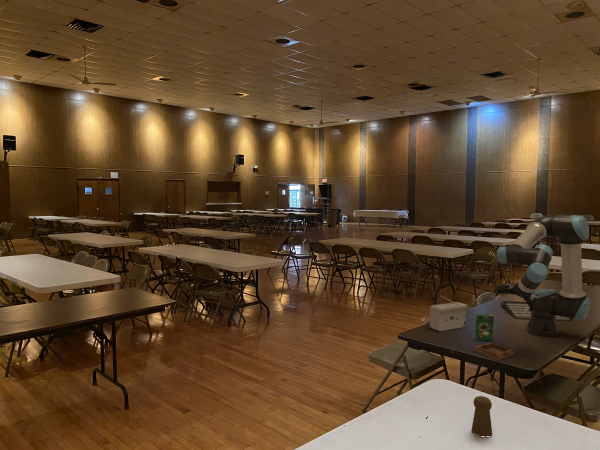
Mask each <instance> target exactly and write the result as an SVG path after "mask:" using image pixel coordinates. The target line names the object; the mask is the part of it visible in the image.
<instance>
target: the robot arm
mask: <svg viewBox="0 0 600 450" xmlns="http://www.w3.org/2000/svg"><path fill="white" fill-rule="evenodd" d="M589 237H590V225H589V222H588V219H587V217H585V216H583V215H576V214H547V215H543V216H540V217H537V218H535V219H534V220H532V221H531V222H529V224H527V226H526V227H525V230H524V231H523V232H522V233H521V234H520V235H519V236H517V238H516V239H515V240H514V241H512V242H511V243H510V244H509V246H500V247H498V248H497V250H496V259H497V261H498V262H499V263H503V264H506V265H507V264H509V265H510V264H512V265H518V266H519V265H520V266H521V265H522V266H527V267H526V270H525V272H524V273H523V275H522V276H521V277H520V278H519V280H518V281H517V282H516V284H514V285H513V284H511V282H510V281H507V282H506V283H504V284H499V285H496V286H495V287H494V290H493V291H494V293H495V299H494V301H495V302H497V300H498V299H500V297H501V295H515V296H518V297H519V298H521V299H523V302H527V304H528V306H527V307H526V308H525V310H524V313H523V314H526V312H527V311H531V318H530V320H529V321H528V322H527V325H526V331H527V332H528V333H529V334H532V335H536V336H541V337H542V336H543V337H557V336H560V329H559V326H558V323H557V321H556V316H561V317H566V318H572V319H573V320H579V321H583V320H585V319H586V318H587V317H588V315H589V313H590V312H589V311H590V309H591V302H592V301H591V298H590V297H587V293H586V292H585V291H584V290H583V272H582V271H583V270H582V269H583V268H582V266H583V265H582V263H583V261H582V246H583V244H585V242H586V240H588V239H589ZM545 238H553V239H554V238H555V239H556V240H557V244H558V245H560V253H561V282H562V283H561V285H562V289H561V290H560V291H559V293H558V292H557V290H556V289H551V288H541V289H540V288H539V289H537V288H538V287H539V286H540V285H541V284H542V283H543V282H544V281H545V280H546V278H547V277H548V275H549V270H548V269H549V266H550V263H551V261H552V259H553V254H554V250H553V249H552V248H551V247H550V246H549V245H547V244H541V243H540V244H537V243H538V242H539V241H540V240H543V239H545ZM536 244H537V245H536ZM534 245H536V246H535V247H534V248H533V246H534Z"/></svg>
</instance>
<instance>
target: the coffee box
mask: <svg viewBox="0 0 600 450" xmlns="http://www.w3.org/2000/svg"><path fill="white" fill-rule="evenodd" d="M475 317H476V319H475V334H474V335H475V341H483V342H484V341H485V342H486V341H489V342H493V338H494V335H493V334H494V318H495V317H494V315H493V314H483V313H482V314H480V313H479V314H478V313H476V316H475Z"/></svg>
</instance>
